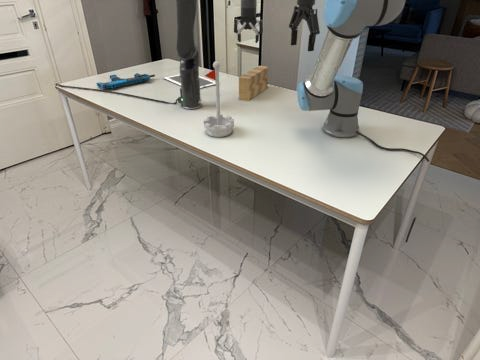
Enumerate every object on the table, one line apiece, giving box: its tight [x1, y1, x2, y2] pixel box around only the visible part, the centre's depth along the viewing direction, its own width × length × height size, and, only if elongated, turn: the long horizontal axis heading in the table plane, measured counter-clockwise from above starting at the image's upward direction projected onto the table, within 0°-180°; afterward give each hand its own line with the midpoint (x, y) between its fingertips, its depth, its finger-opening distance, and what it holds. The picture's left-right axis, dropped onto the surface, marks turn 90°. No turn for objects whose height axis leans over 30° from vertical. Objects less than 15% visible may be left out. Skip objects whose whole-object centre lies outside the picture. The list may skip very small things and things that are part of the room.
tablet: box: [163, 73, 216, 89], centre depth 211 cm, size 32×20×1 cm, turn 41°
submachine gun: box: [95, 72, 156, 90], centre depth 209 cm, size 34×4×25 cm
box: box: [238, 65, 269, 102], centre depth 189 cm, size 26×6×12 cm, turn 153°
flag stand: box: [203, 60, 235, 138], centre depth 141 cm, size 13×13×30 cm
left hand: (248, 42), depth 171 cm, fingers open, 8 cm apart
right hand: (301, 48), depth 153 cm, fingers open, 13 cm apart
